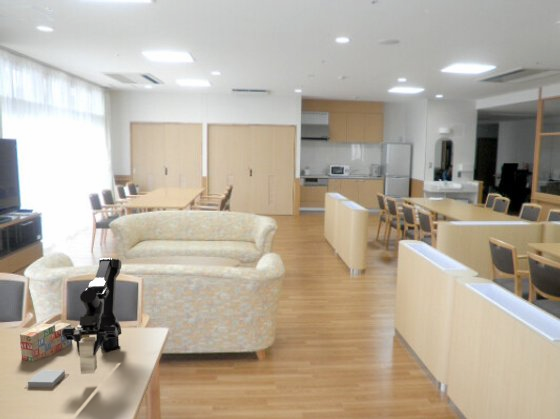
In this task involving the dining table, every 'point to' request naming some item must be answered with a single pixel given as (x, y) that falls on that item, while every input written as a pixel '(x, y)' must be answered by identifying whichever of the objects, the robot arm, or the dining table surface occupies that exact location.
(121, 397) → the dining table surface
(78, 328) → the supplement bottle
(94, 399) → the dining table surface
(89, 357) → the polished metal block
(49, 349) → the stack of blocks
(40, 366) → the dining table surface
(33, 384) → the slate slab
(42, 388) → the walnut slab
